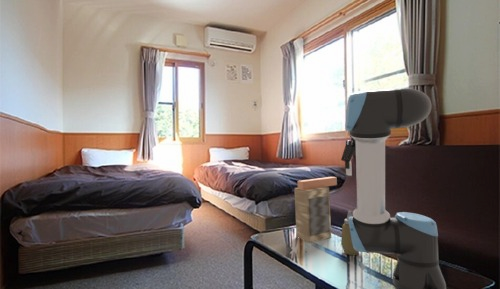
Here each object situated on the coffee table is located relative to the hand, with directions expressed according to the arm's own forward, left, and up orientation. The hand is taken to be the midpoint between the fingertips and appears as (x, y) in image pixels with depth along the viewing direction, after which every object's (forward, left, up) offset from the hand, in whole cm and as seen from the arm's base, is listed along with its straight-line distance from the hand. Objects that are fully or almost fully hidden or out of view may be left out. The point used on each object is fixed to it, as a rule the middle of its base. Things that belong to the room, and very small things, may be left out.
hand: (359, 172), depth 139 cm
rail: (-8, +19, -7) cm, 22 cm away
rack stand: (-11, +20, -32) cm, 40 cm away
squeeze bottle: (-17, -4, -33) cm, 37 cm away
